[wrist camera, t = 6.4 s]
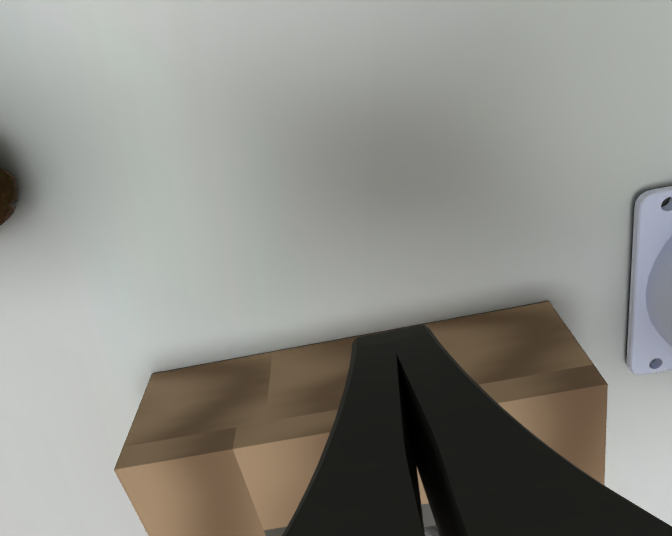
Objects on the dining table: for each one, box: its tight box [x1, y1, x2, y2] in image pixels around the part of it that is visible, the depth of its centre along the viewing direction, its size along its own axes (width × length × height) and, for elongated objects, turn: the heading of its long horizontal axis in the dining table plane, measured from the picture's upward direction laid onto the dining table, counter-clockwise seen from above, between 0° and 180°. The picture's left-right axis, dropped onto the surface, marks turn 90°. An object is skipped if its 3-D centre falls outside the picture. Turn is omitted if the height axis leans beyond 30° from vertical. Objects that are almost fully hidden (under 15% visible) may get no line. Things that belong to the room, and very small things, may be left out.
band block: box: [114, 301, 608, 536], centre depth 24 cm, size 16×16×5 cm
